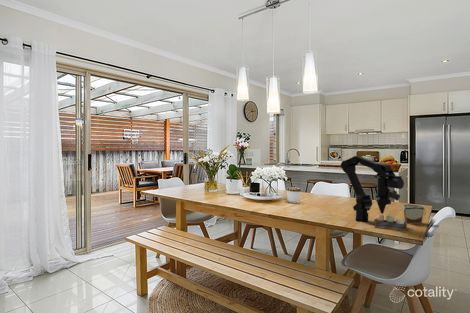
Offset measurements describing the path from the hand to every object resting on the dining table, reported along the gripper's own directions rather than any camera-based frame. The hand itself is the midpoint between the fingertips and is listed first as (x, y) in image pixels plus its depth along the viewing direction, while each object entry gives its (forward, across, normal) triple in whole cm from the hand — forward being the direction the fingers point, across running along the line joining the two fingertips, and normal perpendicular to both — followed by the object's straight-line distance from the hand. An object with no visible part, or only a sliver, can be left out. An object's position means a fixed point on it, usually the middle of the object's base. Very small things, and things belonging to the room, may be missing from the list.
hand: (382, 213), depth 158 cm
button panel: (+7, 0, -4) cm, 8 cm away
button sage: (+4, 0, -4) cm, 6 cm away
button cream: (+6, 0, -9) cm, 11 cm away
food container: (+8, +16, -17) cm, 25 cm away
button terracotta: (+5, 0, +1) cm, 5 cm away
